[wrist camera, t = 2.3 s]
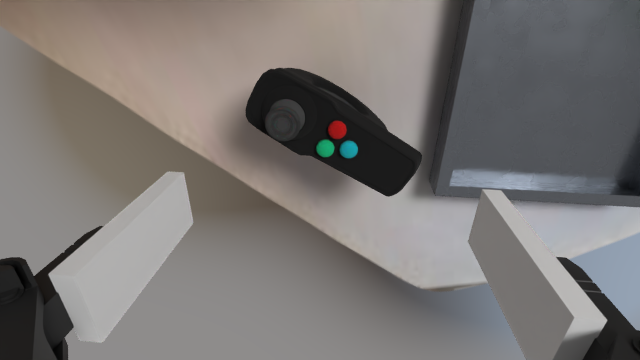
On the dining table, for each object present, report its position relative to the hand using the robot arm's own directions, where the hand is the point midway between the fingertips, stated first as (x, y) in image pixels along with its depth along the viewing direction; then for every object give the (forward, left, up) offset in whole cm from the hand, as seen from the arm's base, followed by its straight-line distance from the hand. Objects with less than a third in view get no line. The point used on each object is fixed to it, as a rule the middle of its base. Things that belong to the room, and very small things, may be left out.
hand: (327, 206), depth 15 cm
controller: (0, 0, -15) cm, 15 cm away
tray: (-2, +17, -15) cm, 23 cm away
